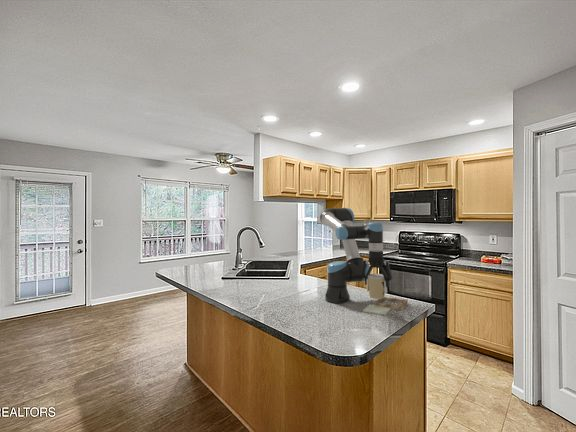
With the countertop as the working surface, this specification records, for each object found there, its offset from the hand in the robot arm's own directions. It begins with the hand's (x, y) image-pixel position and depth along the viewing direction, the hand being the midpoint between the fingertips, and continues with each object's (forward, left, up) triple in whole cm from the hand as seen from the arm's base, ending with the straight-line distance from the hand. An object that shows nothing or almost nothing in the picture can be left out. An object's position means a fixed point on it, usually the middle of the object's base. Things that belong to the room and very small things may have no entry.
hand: (376, 291), depth 158 cm
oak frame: (+4, +14, -10) cm, 18 cm away
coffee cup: (0, 0, -3) cm, 3 cm away
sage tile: (0, 0, -10) cm, 10 cm away
